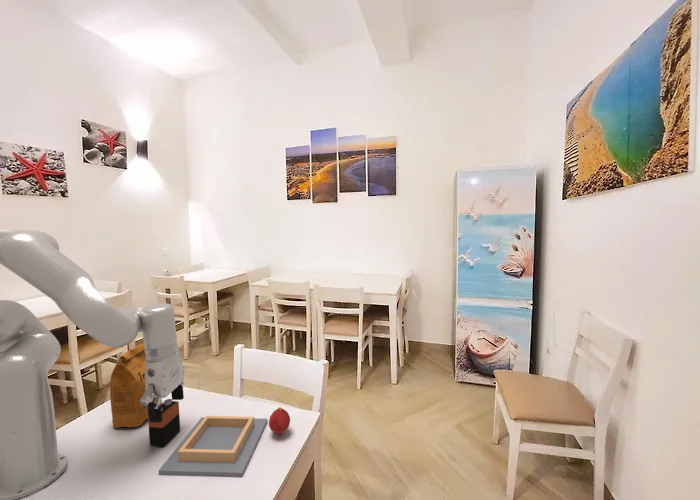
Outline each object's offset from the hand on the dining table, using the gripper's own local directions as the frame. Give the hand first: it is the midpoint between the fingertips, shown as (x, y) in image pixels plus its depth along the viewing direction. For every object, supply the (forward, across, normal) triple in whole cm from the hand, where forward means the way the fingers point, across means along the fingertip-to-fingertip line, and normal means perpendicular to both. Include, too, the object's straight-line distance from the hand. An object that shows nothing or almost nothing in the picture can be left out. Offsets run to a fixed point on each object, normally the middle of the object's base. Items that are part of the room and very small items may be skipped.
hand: (167, 409), depth 85 cm
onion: (+9, +2, -30) cm, 32 cm away
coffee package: (+8, +8, +15) cm, 19 cm away
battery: (+8, -1, +1) cm, 8 cm away
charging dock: (+8, -3, -15) cm, 17 cm away
